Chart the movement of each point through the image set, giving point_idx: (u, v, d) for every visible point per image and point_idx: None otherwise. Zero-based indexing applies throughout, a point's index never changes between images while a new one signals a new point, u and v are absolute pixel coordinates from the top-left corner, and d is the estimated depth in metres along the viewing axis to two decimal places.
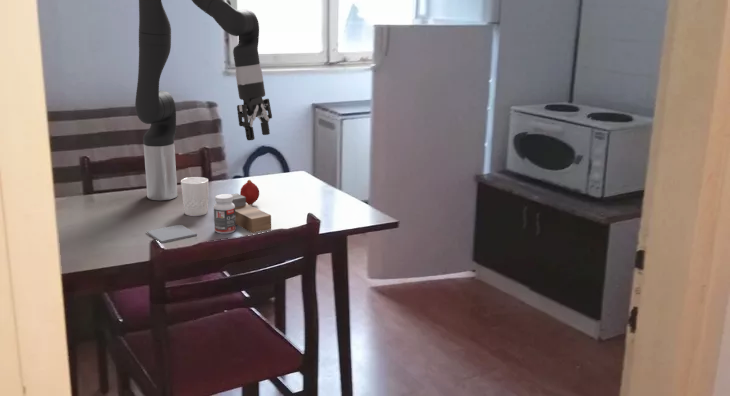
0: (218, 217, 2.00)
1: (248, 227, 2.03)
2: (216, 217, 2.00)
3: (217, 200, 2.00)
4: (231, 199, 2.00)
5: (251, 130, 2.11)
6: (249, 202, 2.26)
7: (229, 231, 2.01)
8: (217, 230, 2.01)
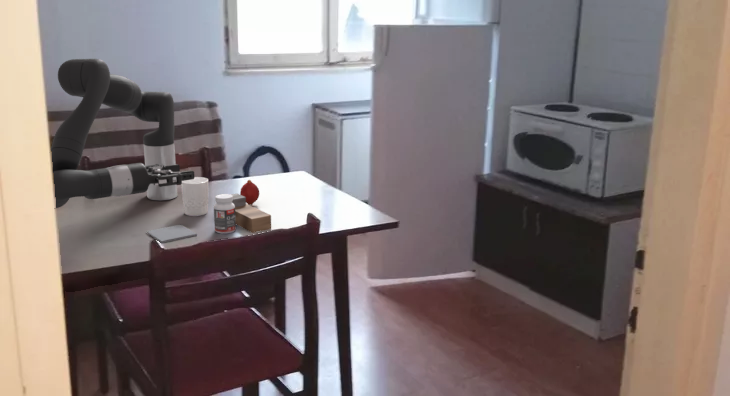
0: (218, 217, 2.00)
1: (248, 227, 2.03)
2: (216, 217, 2.00)
3: (217, 200, 2.00)
4: (231, 199, 2.00)
5: None
6: (249, 202, 2.26)
7: (229, 231, 2.01)
8: (217, 230, 2.01)
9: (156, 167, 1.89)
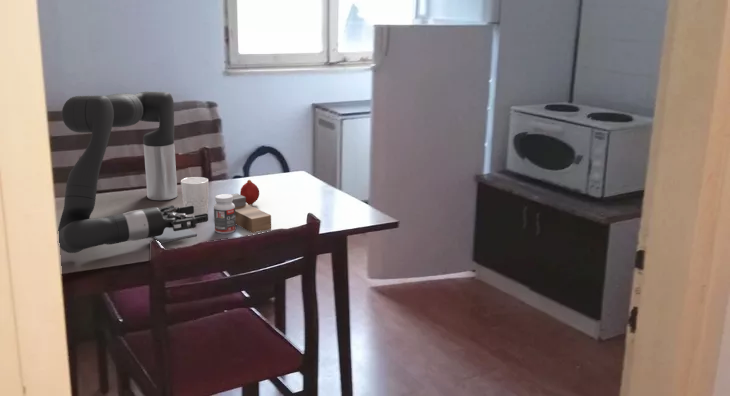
0: (218, 217, 2.00)
1: (248, 227, 2.03)
2: (216, 217, 2.00)
3: (217, 200, 2.00)
4: (231, 199, 2.00)
5: None
6: (249, 202, 2.26)
7: (229, 231, 2.01)
8: (217, 230, 2.01)
9: (171, 210, 1.95)
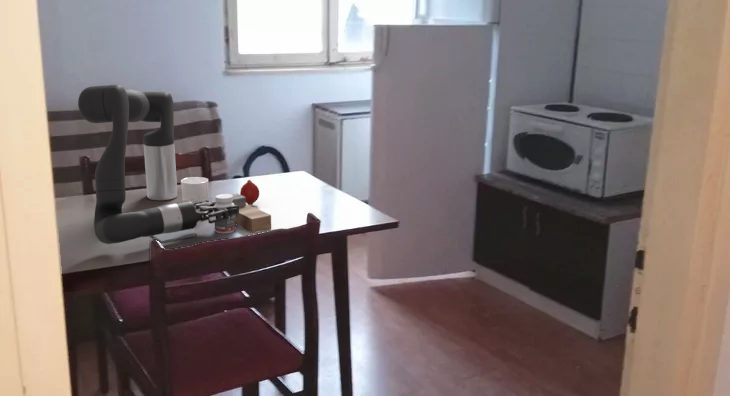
0: None
1: (248, 227, 2.03)
2: None
3: (217, 200, 2.00)
4: (231, 199, 2.00)
5: None
6: (249, 202, 2.26)
7: (229, 231, 2.01)
8: (217, 230, 2.01)
9: (204, 204, 2.00)
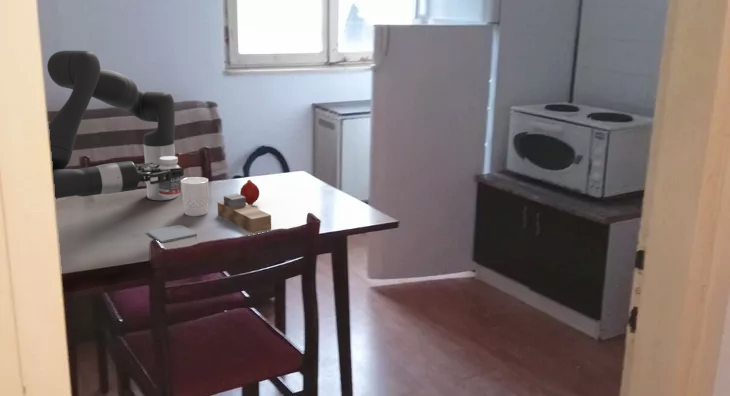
0: None
1: (248, 227, 2.03)
2: None
3: (161, 161, 1.93)
4: (176, 161, 1.94)
5: None
6: (249, 202, 2.26)
7: (173, 194, 1.95)
8: (161, 193, 1.95)
9: (147, 165, 1.93)
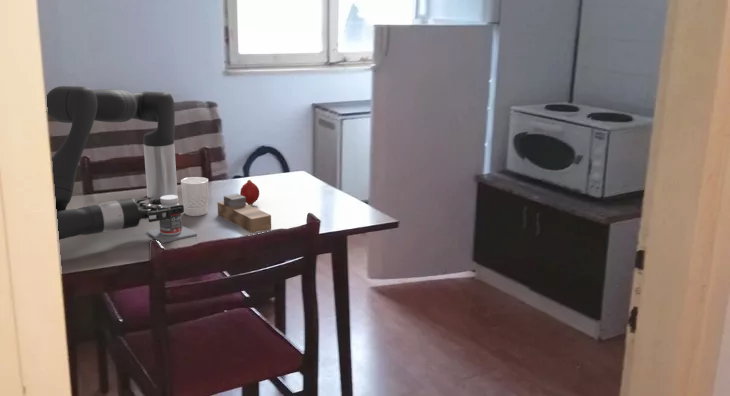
0: None
1: (248, 227, 2.03)
2: None
3: (162, 201, 1.96)
4: (176, 200, 1.97)
5: None
6: (249, 202, 2.26)
7: (174, 233, 1.98)
8: (162, 232, 1.98)
9: (147, 201, 1.96)
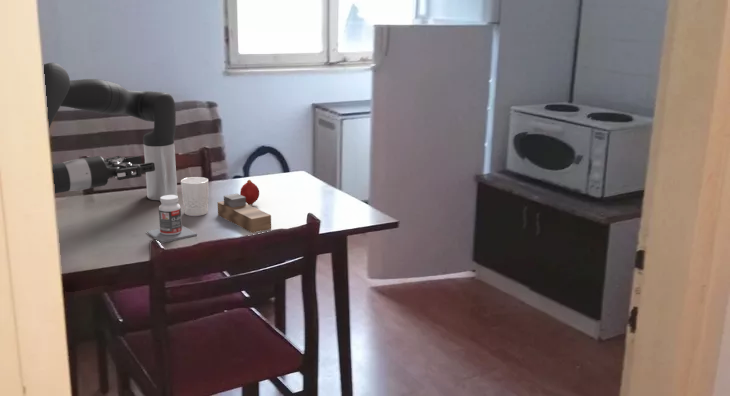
0: (163, 218, 1.97)
1: (248, 227, 2.03)
2: (161, 219, 1.97)
3: (162, 201, 1.96)
4: (176, 200, 1.97)
5: None
6: (249, 202, 2.26)
7: (174, 233, 1.98)
8: (162, 232, 1.98)
9: (116, 159, 1.88)
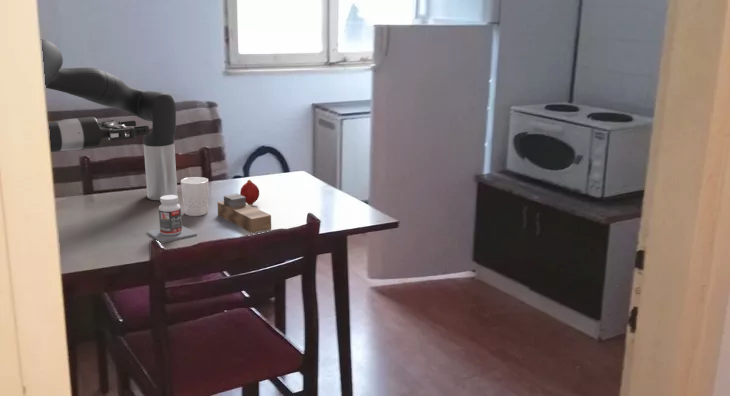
0: (163, 218, 1.97)
1: (248, 227, 2.03)
2: (161, 219, 1.97)
3: (162, 201, 1.96)
4: (176, 200, 1.97)
5: None
6: (249, 202, 2.26)
7: (174, 233, 1.98)
8: (162, 232, 1.98)
9: (110, 122, 1.85)
